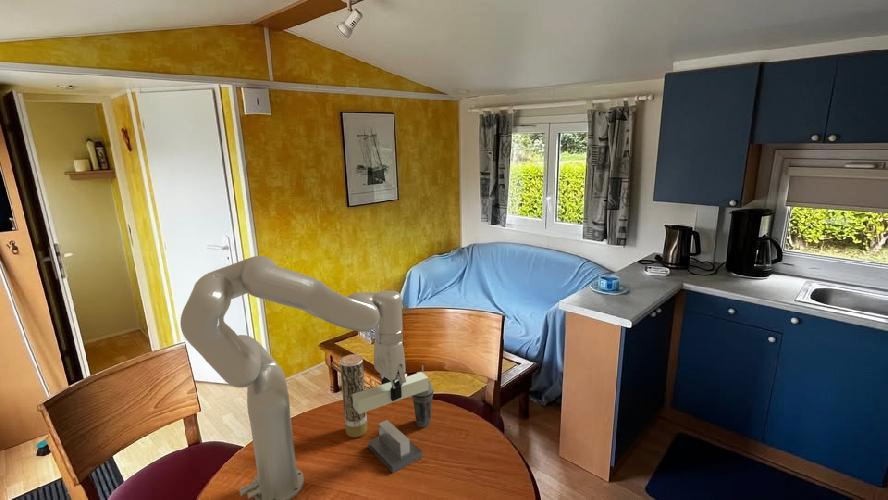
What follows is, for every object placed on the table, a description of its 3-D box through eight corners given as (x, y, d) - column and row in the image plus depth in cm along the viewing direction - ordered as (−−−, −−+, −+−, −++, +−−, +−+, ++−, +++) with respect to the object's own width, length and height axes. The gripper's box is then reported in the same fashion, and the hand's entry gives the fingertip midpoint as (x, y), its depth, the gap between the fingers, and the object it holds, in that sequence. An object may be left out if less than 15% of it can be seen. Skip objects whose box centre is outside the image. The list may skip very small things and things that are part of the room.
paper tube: (370, 425, 142) (365, 354, 137) (364, 439, 136) (358, 365, 130) (349, 424, 143) (343, 354, 137) (342, 438, 136) (336, 364, 131)
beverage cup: (408, 428, 141) (406, 371, 136) (416, 415, 147) (414, 360, 143) (430, 431, 138) (428, 374, 134) (437, 418, 145) (435, 363, 141)
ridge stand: (392, 473, 121) (391, 451, 120) (367, 447, 132) (366, 426, 130) (422, 457, 127) (421, 436, 126) (396, 433, 138) (395, 413, 136)
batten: (358, 414, 118) (358, 400, 117) (353, 407, 121) (352, 394, 120) (428, 389, 130) (428, 377, 129) (421, 384, 133) (421, 371, 132)
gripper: (362, 329, 125) (365, 387, 129) (393, 349, 112) (396, 413, 116) (385, 323, 130) (387, 379, 134) (417, 341, 117) (419, 403, 121)
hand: (391, 394), depth 125 cm, fingers closed on batten, 4 cm apart
